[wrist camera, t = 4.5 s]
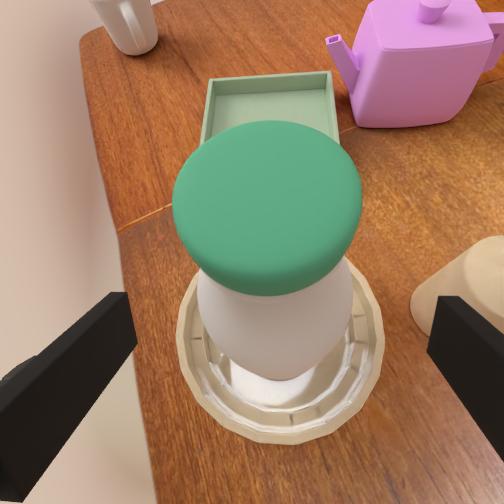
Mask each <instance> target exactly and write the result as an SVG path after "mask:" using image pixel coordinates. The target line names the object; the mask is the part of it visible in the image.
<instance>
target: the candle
mask: <svg viewBox="0 0 504 504" xmlns="http://www.w3.org/2000/svg"><path fill="white" fill-rule="evenodd" d="M438 296H459V297H461V298H462V299H463V300H464V301H465V302H466V303H468V304H469V305H470V306H471V307H472V308H474V309H475V310H476V311H477V312H478V313H479V314H481V315H482V316H483V317H484V318H485V319H486V320H488V321H489V322H490V323H491V324H492V325H493V326H495V327H496V328H497V329H498V330H499V331H500V332H502V333H503V334H504V235H498V236H491V237H487V238H485V239H482V240H480V241H479V242H477V243H476V244H474V245H473V246H472V247H470V248H469V249H468V250H466V251H465V252H463V253H462V254H461V255H459V256H458V257H457V258H455V259H454V260H453V261H451V262H450V263H449V264H447V265H446V266H444V267H443V268H442V269H440V270H439V271H438V272H436V273H435V274H434V275H432V276H431V277H430V278H428V279H427V280H425V281H424V282H423V283H422V284H420V285H419V286H418V287H417V288H416V289H415V291H414V292H413V294H412V296H411V300H410V310H411V314H412V317H413V319H414V321H415V323H416V324H417V326H418V327H419V328H420V329H421V330H422V331H423V332H424V333H425V334H426V335H427V336H429V337H430V333H431V328H432V323H433V318H434V313H435V309H436V304H437V299H438Z"/></svg>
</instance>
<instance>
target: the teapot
mask: <svg viewBox="0 0 504 504" xmlns="http://www.w3.org/2000/svg"><path fill="white" fill-rule="evenodd" d="M326 45H327V49H328V51H329V53H330V55H331V57H332V59H333V61H334V63H335V65H336V67H337V69H338V71H339V73H340V75H341V77H342V79H343V81H344V83H345V85H346V87H347V89H348V91H349V96H350V102H351V106H352V111H353V115H354V119H355V122H356V124H357V125H358V126H360V127H366V128H401V127H414V126H422V125H430V124H437V123H443V122H446V121H449V120H450V119H452V118H453V117H454V116H455V115H456V114H457V113H458V112H459V111H460V110H461V109H462V107H463V106H464V104H465V103H466V101H467V99H468V98H469V96H470V94H471V92H472V91H473V89H474V87H475V85H476V83H477V81H478V79H479V77H480V75H481V74H482V73H484V72H486V71H489V70H491V69H493V68H494V67H495V65H496V64H497V62H498V60H499V59H500V57H501V55H502V53H503V52H504V12H495V13H482V12H481V10H480V8H479V7H478V5H477V3H476V2H475V0H375V1H372V2H371V3H370V4H369V5H368V7H367V10H366V12H365V14H364V17H363V19H362V22H361V25H360V27H359V30H358V32H357V35H356V38H355V41H354V44H353V48H352V51H351V50H350V49H349V47H348V46H347V45H346V43H345V42H344V41H343V39H342V38H341V35H340V34H337V35H334V36H331V37H328V38H326Z"/></svg>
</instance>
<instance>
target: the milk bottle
mask: <svg viewBox="0 0 504 504" xmlns="http://www.w3.org/2000/svg"><path fill="white" fill-rule="evenodd" d="M172 209H173V216H174V222H175V226H176V230H177V232H178V235H179V237H180V239H181V241H182V243H183V244H184V246H185V248H186V250H187V251H188V253H189V254H190V256H191V257H192V259H193V260H194V261H195V262H196V264H197V265H198V266H199V268H200V271H199V276H198V283H197V300H198V306H199V312H200V315H201V319H202V321H203V324H204V326H205V328H206V330H207V332H208V334H209V336H210V337H211V339H212V340H213V342H214V343H215V345H216V346H217V347H218V348H219V349H220V350H221V351H222V352H223V353H224V354H225V355H226V356H227V357H228V358H229V359H231V360H232V361H233V362H234V363H236V364H237V365H239V366H240V367H242V368H244V369H246V370H248V371H249V372H251V373H253V374H256V375H258V376H261V377H263V378H267V379H271V380H286V379H291V378H294V377H297V376H299V375H301V374H303V373H305V372H306V371H308V370H310V369H311V368H313V367H314V366H315V365H317V364H318V363H319V362H321V361H322V360H323V359H324V358H325V357H326V356H327V355H328V354H329V353H330V352H331V351H332V350H333V348H334V347H335V346H336V345H337V343H338V342H339V341H340V339H341V337H342V336H343V334H344V332H345V330H346V327H347V324H348V322H349V319H350V315H351V311H352V305H353V283H352V277H351V273H350V269H349V266H348V263H347V261H346V258H345V256H344V255H345V253H346V251H347V249H348V247H349V246H350V244H351V242H352V240H353V237H354V235H355V232H356V229H357V226H358V224H359V221H360V217H361V212H362V187H361V181H360V177H359V174H358V171H357V168H356V167H355V165H354V163H353V161H352V159H351V158H350V156H349V155H348V154H347V153H346V151H345V150H344V149H343V148H342V147H341V146H340V145H339V144H338V143H337V142H335V141H334V140H333V139H332V138H330V137H329V136H327V135H326V134H324V133H322V132H320V131H318V130H316V129H314V128H311V127H308V126H306V125H302V124H298V123H294V122H289V121H279V120H265V121H255V122H249V123H245V124H241V125H238V126H235V127H232V128H229V129H227V130H224V131H222V132H220V133H218V134H217V135H215V136H213V137H211V138H210V139H209V140H207V141H206V142H204V143H203V144H202V145H201V146H199V147H198V148H197V149H196V150H195V151H194V152H193V153H192V154H191V156H190V157H189V158H188V159H187V161H186V162H185V164H184V165H183V167H182V168H181V170H180V172H179V174H178V177H177V179H176V182H175V185H174V190H173V197H172Z"/></svg>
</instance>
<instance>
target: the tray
mask: <svg viewBox="0 0 504 504" xmlns="http://www.w3.org/2000/svg"><path fill="white" fill-rule="evenodd" d="M265 120H279V121H289V122H294V123H298V124H302V125H306V126H308V127H311V128H314V129H316V130H318V131H320V132H322V133H324V134H326V135H327V136H329V137H330V138H332V139H333V140H334V141H335V142H337V143H338V144H339V145H340V141H339V132H338V124H337V116H336V107H335V99H334V90H333V82H332V74H331V71H318V72H303V73H289V74H274V75H260V76H245V77H231V78H216V79H209V85H208V91H207V98H206V105H205V112H204V118H203V125H202V132H201V139H200V145H199V146H201V145H202V144H203V143H204V142H206V141H207V140H209V139H210V138H211V137H213V136H215V135H217V134H218V133H220V132H222V131H224V130H227V129H229V128H232V127H235V126H238V125H241V124H245V123H249V122H255V121H265Z"/></svg>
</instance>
